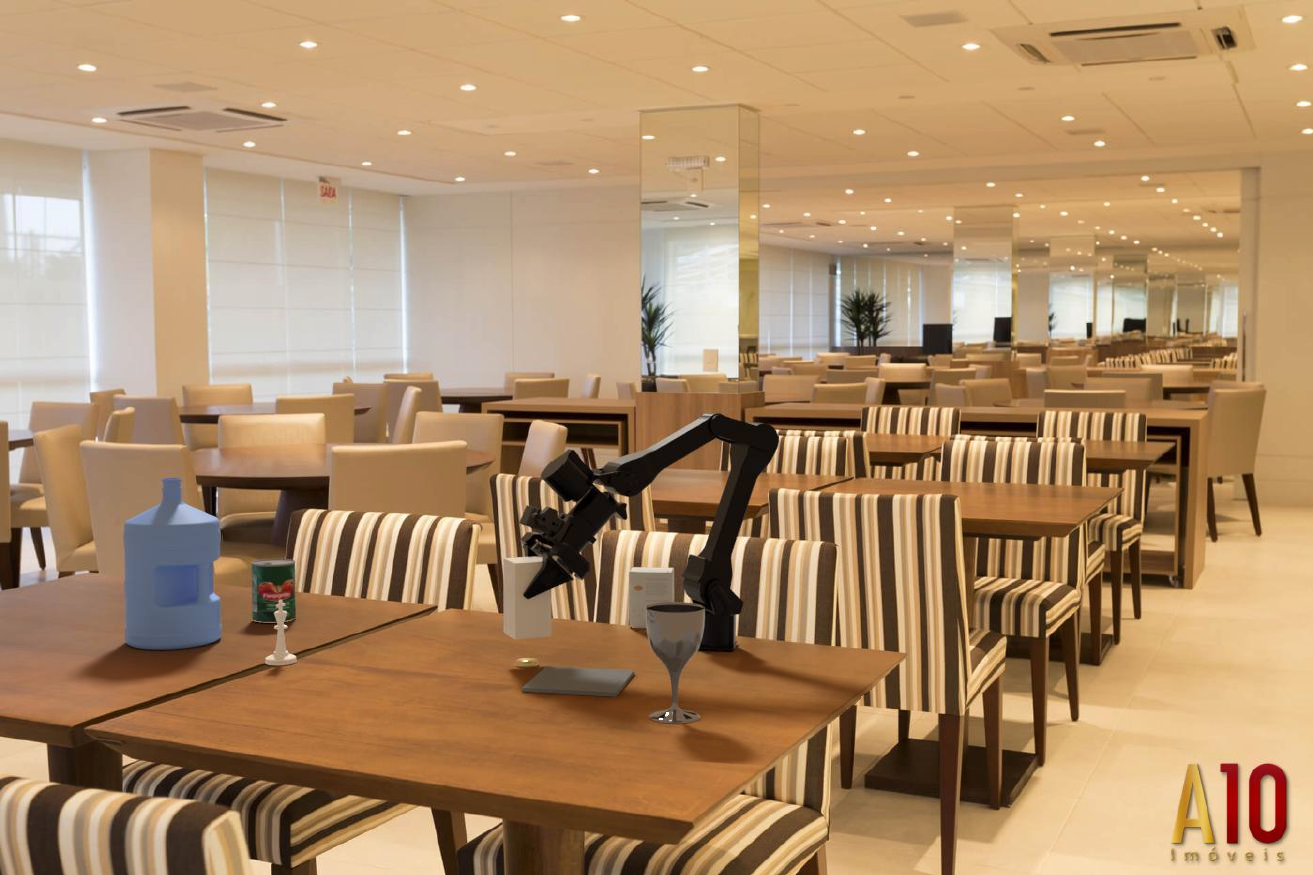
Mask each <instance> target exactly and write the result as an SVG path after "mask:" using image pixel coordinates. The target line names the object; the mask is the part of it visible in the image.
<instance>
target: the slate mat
mask: <svg viewBox="0 0 1313 875" xmlns="http://www.w3.org/2000/svg"><path fill="white" fill-rule="evenodd" d="M634 675H635V670H632V669H614V668H613V669H612V668H611V669H610V668H609V669H608V668H592V667H591V668H589V667H588V668H587V667H571V666H569V667H568V666H549V665H547V666H545V667H544V668H543V669H541V670H540V672H538V673H537V674H536V675H535V676H534V677H532V678H531V679H530V680H529V681H528V682H527V683H526V684H525V685H523V686H522V688H521V691H522V693H539V694H541V693H542V694H557V695H558V694H559V695H576V696H577V695H579V696H600V697H613V698H615V697H617V696H618V695H619V694H620V692H621V691H622V690H624V688H625V686H626V685H627V684H628V682H629V681H630V680H631V679H632V677H634Z"/></svg>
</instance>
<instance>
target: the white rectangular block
mask: <svg viewBox="0 0 1313 875" xmlns="http://www.w3.org/2000/svg"><path fill="white" fill-rule="evenodd" d="M542 561H543V558H542V557H540V556H532V557H525V556H519V557H503V561H502V562H503V565H502V566H503V569H502V570H503V572H502V573H503V576H502V578H503V582H502V583H503V593H502V594H503V596H502V597H503V601H502V602H503V603H502V604H503V634H505V635H506V636H508V637H509V638H510V637H511V638H512V639H513V640H515V641H516V640H517V641H518V640H527V639H540V638H550V637H552V589H550V590H548V591H545V592H543V593H541V594H539V595H537V596H535V597H532V598H530V599H526V598H525V597H524V596H523V594H524V592H525V591H526V589H527V587H528V586H529V584H530V583H531V582H532V580H533V579H534V577H535V576H536V574H537V573H538V572H539V570H540V569H541V567H542Z"/></svg>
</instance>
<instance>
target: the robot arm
mask: <svg viewBox="0 0 1313 875" xmlns="http://www.w3.org/2000/svg"><path fill="white" fill-rule="evenodd" d="M715 439H716V440H719V441H721V442H723V443H726V444H730V446H729V463H730V470H729V473H728V477H727V479H726V483H725V486H724V489H723V491H722V495H721V498H720V501H719V504H718V506H717V509H716V513H715V516H714V518H713V520H712V521H713V522H712V525H711V527H710V530H709V534H708V537H707V539H706V542H705V545H704V548H703V549H702V550H701V552H700V553H699V554H698V555H694V554H692V553H690V554H689V555H688V557H687V562H686V567H685V568H684V571H683V573H682V574H681V577H682V578H683V583H682V587H683V589H684V592H685V594H686V596H688V597H689V598H690V599H691V603H694V604H699V605H702V606H704V608H705V621H704V631H703V637H702V641H701V645H700V647H699V649H698V650H700V649H708V650H707V651H723V650H728V651H727V652H734V650H735V649H736V646H737V645H738V640H737V638H736V637H737V636H736V635H737V631H736V630H737V615H741V612H742V609H743V606H744V601H743V600H742V598H740V597H739V596H738V595H737V594H736V592H734V591H733V590H732V581H733V575H734V574H733V563H732V561H733V560H732V556H733V553H734V549H735V546H736V544H737V540H738V537H739V534H740V531H741V528H742V525H743V522H744V519H745V516H746V513H747V510H748V507H749V504H750V501H751V497H752V494H753V492H754V489H755V486H756V483H757V480H758V477H759V476H760V475H761V474H762V473H763V471H764V470H765V469H766V468H767V467H768V466H769V465H770V464H771V462H772V460H773V457H774V455H775V453H776V451H777V449H778V448H779V445H780V436H779V435H778V432H777V430H776V428H774V426H772V425H771V424H769V423H765V422H752V421H742V420H738V419H735V418H732V417H729V416H726V415H725V414H722V413H718V412H706V413H703V414H702V415H701V416H700V417H699V418H696V420H694V421H692V422H690V423H689V424H687V425H686V426H683V427H682V428H680V429H679V430H676V431H675V432H674V433H672V434H670V435H667V437H666V436H665V438H663V439H662V440H659V441H658V442H657V443H654V444H652V445H651V446H649V447H648V448H646V449H642V450H640V451H636V452H633V453H629V454H626V455H625V454H624V455H623V456H619V457H618V458H615V459H612V460H609V461H608V462H607V463H606V464H604V466H603V467H600V468H599V467H598V468H590V466H588V465H587V464H586V463H585V462H584V461H583V460H582V458H581V457H580V455H579V453H577V452H576V451H575V450H574V449H567V450H566V451H565V452H564V453H563V454H561V455H559V456H556V458H555V459H553V461H549V462H548V464H547V465H546V466H545V467H544V469H543V470H542V471H541V474H540V478H541V480H542V481H543V482H544V483H545V484H547V485H548V487H549V488H550V489H551V490H553V492H554V493H555V494H556V495H557V496H558V497H559V498H560V499H561V500H562V501H563V502H564V503H569V502H571V501H572V502H573V503H576V504H575V505H573V507H572V508H571V509H570V510H569V511H568V512H567V513H565V512H563V513H562V512H560V513H559V510H557V509H555V508H553V507H551V506H545V507H544V508H542V510H541V509H539V508H536V507H534V506H531V505H526V506H525V508H524V511H523V513H522V516H521V518H520V520H519V522H518V523H519V524H520V525H523V526H524V527H525V526H527V527H529V528H531V529H533V530H537V531H539V532H537V531H526V533H525V534H524V535H522V537H521V538H520V539H519V541H520V542H521V543H522V544H523V545H522V549H523V552H524V557H532V556H540V557H542V558H543V561H542V567H541V569H540V570H539V572H538V573H537V574H536V576H535V577H534V579H533V580H532V582H531V583H530V584H529V586H528V587H527V589H526V591H525V592H524V594H523V596H524V597H525V598H526V599H530V598H532V597H535V596H537V595H539V594H541V593H543V592H545V591H548V590H550V589H551V590H552V589H554V588H557V587H559V586H561V585H564V584H566V583H569V582H573V581H574V580H575V579H574V578H576V579H578V580H579V581H583V580H585V578H586V577H587V576H588V574H590V573H591V563H590V562H589V561H588V560H587V559H586V558H585V557H584V556H583V555H582V554H581V552H582V551H583V550H584V549H585V548H586V546H588V545H589V544H590V545H594V544H595V542H597V540H598V539H597V538H596V535H597V534H598V533H599V532H600V531H601V530H602V529H603V528H604V526H605V525H606V524H607V523H608V522H609V521H610V519H611V518H613V516H614V517H615V518H616V519H620V520H623V521H627V520H628V512H627V508H628V507H627V506H628V504H627V502H624V501H623V502H622V501H621V502H619V501H617V499H616V498H615V497H613V495H619V496H621V497H622V496H623V497H626V498H632V497H635V496H638V495H639V494H641V493H642V492H643V491H644V490H645V489H646V488H647V487H648V486H650V485H651V484H652V483H653V482H654V480H655V479H656V478H657V477H658V475H659V474H660V473H661V472H662V471H663V470H664V469H667V468H668V467H670V466H672V465H673V464H675V463H676V462H678V461H680V460H682V459H683V458H685V457H687V456H689V455H690V454H692V453H694V452H695V451H697V450H698V449H700V448H701V447H703V446H705V445H707V444H708V443H710V442H712V441H713V440H715ZM596 485H599V486H602V487H604V489H605V491H601V490H600V489H599V488H598V487H597V486H596ZM612 494H613V495H612ZM572 575H573V576H572Z"/></svg>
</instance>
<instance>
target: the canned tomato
mask: <svg viewBox="0 0 1313 875" xmlns="http://www.w3.org/2000/svg"><path fill="white" fill-rule="evenodd" d="M250 564H251V613H252V619H253V620H256V621H261V622H277V621H276V618H275V615H274V612H276V611H278V610H279V608H277V607H276V605H277V604H279V600H283V603H285V606H283V611H286V612H287V616H286V618H285V621H287V620H291V619H295V618H296V619H297V616H296V614H297V613H296V610H297V609H296V605H297V604H296V602H297V601H296V594H297V593H296V560H294V559H290V558H265V559H257V560H256V559H255V560H253V561H251V563H250ZM252 619H251V620H252Z"/></svg>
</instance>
